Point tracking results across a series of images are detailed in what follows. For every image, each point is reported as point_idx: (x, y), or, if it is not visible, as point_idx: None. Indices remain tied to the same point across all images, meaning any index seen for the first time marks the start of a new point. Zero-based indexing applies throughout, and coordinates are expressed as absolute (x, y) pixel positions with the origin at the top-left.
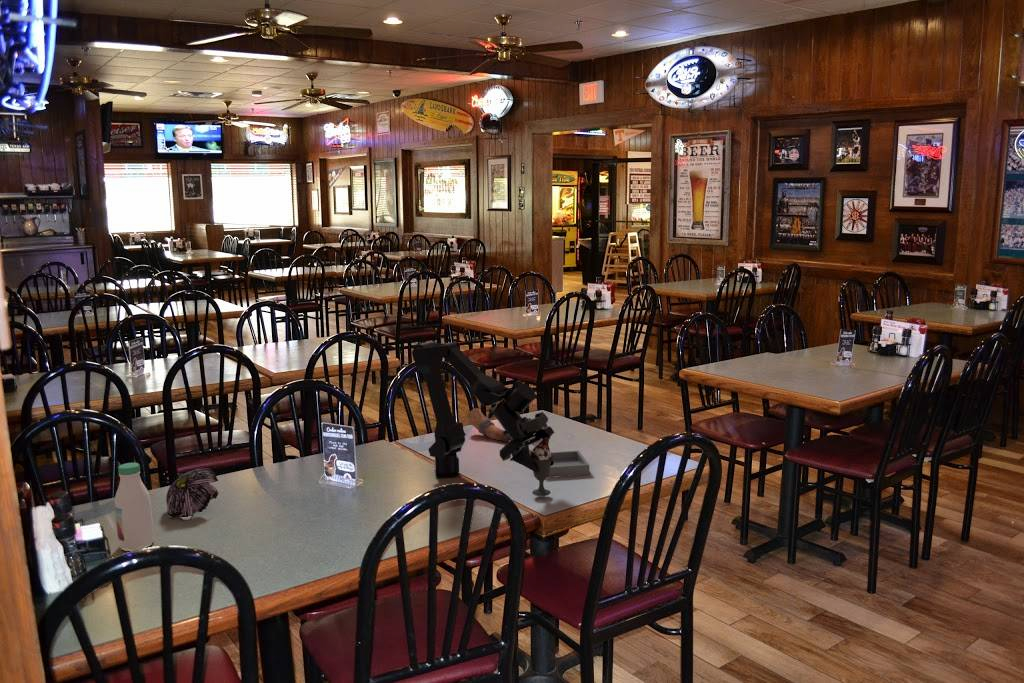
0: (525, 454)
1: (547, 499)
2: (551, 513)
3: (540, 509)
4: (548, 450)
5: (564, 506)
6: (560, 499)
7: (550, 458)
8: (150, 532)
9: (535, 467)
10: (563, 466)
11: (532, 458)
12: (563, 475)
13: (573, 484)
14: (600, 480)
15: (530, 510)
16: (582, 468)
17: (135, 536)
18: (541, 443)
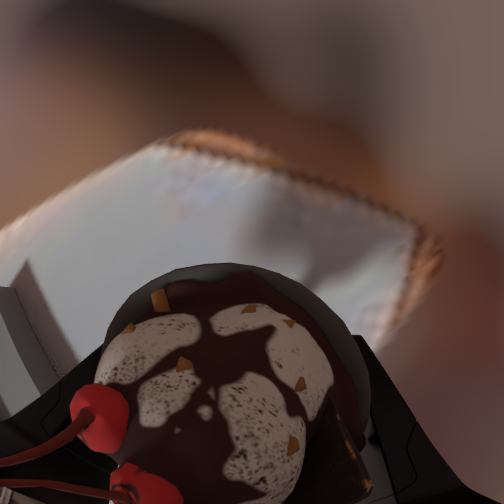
0: (463, 488)
1: None
2: (390, 211)
3: (382, 271)
4: (115, 363)
5: (301, 203)
6: (240, 258)
7: (210, 291)
8: None
9: (379, 366)
10: (23, 363)
11: (384, 438)
12: (46, 360)
13: (82, 295)
14: (35, 233)
15: (410, 300)
16: (6, 305)
17: None
18: (41, 487)
